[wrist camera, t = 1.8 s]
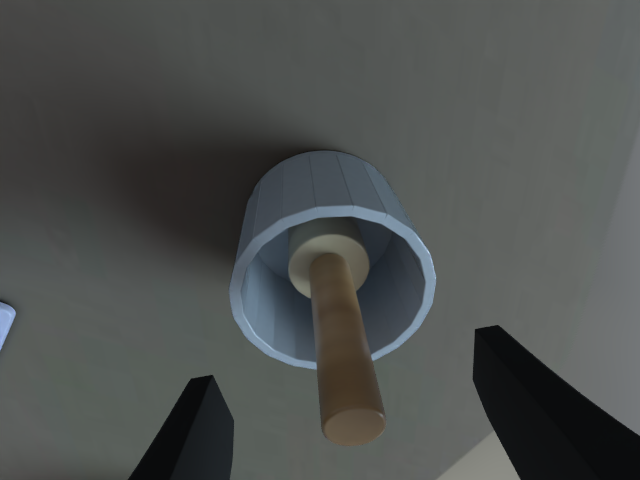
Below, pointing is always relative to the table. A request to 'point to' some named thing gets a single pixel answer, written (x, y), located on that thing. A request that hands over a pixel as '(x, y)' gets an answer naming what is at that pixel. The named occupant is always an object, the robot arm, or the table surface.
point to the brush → (338, 326)
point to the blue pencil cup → (379, 239)
